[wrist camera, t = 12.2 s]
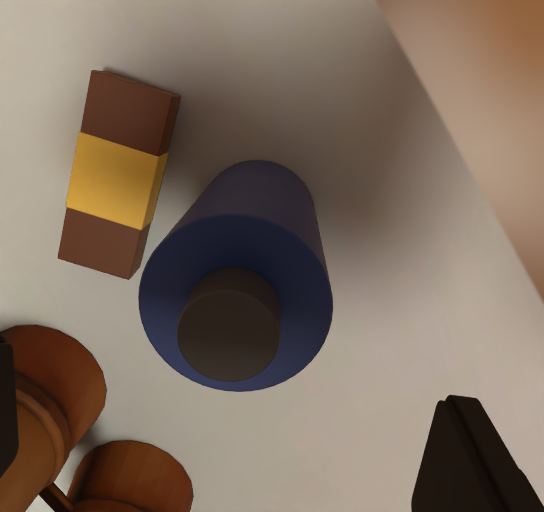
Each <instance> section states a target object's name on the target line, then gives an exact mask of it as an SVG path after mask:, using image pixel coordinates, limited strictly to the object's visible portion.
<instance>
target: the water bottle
mask: <svg viewBox="0 0 544 512" xmlns="http://www.w3.org/2000/svg"><path fill="white" fill-rule="evenodd" d="M138 297H139V311H140V316H141V321H142V324H143V327H144V330H145V332H146V334H147V336H148V338H149V340H150V342H151V344H152V345H153V347H154V348H155V350H156V351H157V352H158V354H159V355H160V356H161V357H162V358H163V360H164V361H166V362H167V363H168V364H169V365H170V366H171V367H172V368H173V369H175V370H176V371H177V372H179V373H180V374H181V375H183V376H185V377H187V378H188V379H190V380H192V381H194V382H196V383H199V384H201V385H204V386H207V387H210V388H214V389H219V390H224V391H235V392H243V391H254V390H261V389H265V388H268V387H272V386H275V385H277V384H279V383H282V382H284V381H286V380H288V379H289V378H291V377H293V376H295V375H296V374H297V373H299V372H300V371H301V370H303V369H304V368H305V367H306V366H307V365H308V364H309V363H310V362H311V361H312V360H313V358H314V357H315V356H316V355H317V353H318V352H319V351H320V349H321V347H322V345H323V344H324V342H325V340H326V337H327V335H328V332H329V329H330V325H331V321H332V313H333V296H332V291H331V286H330V281H329V276H328V271H327V266H326V261H325V256H324V252H323V247H322V242H321V237H320V232H319V227H318V222H317V218H316V213H315V208H314V203H313V200H312V197H311V195H310V193H309V191H308V189H307V187H306V186H305V184H304V183H303V182H302V181H301V179H300V178H299V177H298V176H297V175H295V174H294V173H293V172H292V171H290V170H289V169H287V168H286V167H284V166H281V165H279V164H276V163H273V162H269V161H264V160H251V161H245V162H240V163H238V164H235V165H233V166H231V167H229V168H227V169H225V170H224V171H223V172H221V173H220V174H219V175H218V176H217V177H216V178H215V179H214V180H213V181H212V182H211V184H210V185H209V186H208V187H207V188H206V190H205V191H204V192H203V193H202V194H201V196H200V197H199V198H198V199H197V200H196V201H195V203H194V204H193V205H192V206H191V207H190V209H189V210H188V211H187V212H186V213H185V215H184V216H183V217H182V218H181V219H180V220H179V222H178V223H177V224H176V225H175V226H174V228H173V229H172V230H171V231H170V232H169V234H168V235H167V236H166V237H165V238H164V239H163V241H162V242H161V243H160V244H159V245H158V247H157V248H156V249H155V250H154V252H153V253H152V255H151V257H150V258H149V260H148V262H147V264H146V266H145V268H144V271H143V273H142V277H141V281H140V286H139V296H138Z"/></svg>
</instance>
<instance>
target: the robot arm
mask: <svg viewBox="0 0 544 512" xmlns="http://www.w3.org/2000/svg"><path fill="white" fill-rule="evenodd" d="M18 449H19V433H18V418H17V402H16V386H15V370H14V354H13V347H12V345H11V344H8V343H7V342H6V340H5V338H4V337H3V336H0V478H1V477H2V476H3V474H4V473H5V472H6V470H7V469H8V468H9V467H10V465H11V464H12V463H13V461H14V460H15V458H16V455H17V453H18ZM411 509H412V512H544V506H543V504H542V503H541V501H540V499H539V498H538V496H537V494H536V493H535V491H534V489H533V488H532V486H531V484H530V482H529V481H528V479H527V477H526V476H525V474H524V473H523V472H522V471H521V470H520V469H519V468H518V467H517V465H516V463H515V461H514V460H513V458H512V456H511V455H510V453H509V451H508V449H507V448H506V446H505V444H504V443H503V441H502V439H501V437H500V436H499V434H498V432H497V430H496V429H495V427H494V425H493V424H492V422H491V420H490V418H489V417H488V415H487V413H486V412H485V410H484V408H483V406H482V405H481V403H480V401H479V400H478V399H476V398H471V397H464V396H456V395H449V396H448V397H447V398H446V400H445V401H442V400H440V401H439V402H438V403H437V406H436V409H435V413H434V417H433V420H432V424H431V428H430V432H429V435H428V439H427V443H426V447H425V450H424V454H423V458H422V462H421V465H420V469H419V473H418V477H417V480H416V484H415V488H414V492H413V495H412V503H411Z"/></svg>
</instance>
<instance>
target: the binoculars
mask: <svg viewBox="0 0 544 512" xmlns="http://www.w3.org/2000/svg"><path fill="white" fill-rule="evenodd" d="M0 336H3V337H4V338H5V340H6V342H7V343H8V344H11V345H12V347H13V354H14V370H15V386H16V402H17V418H18V433H19V449H18V453H17V455H16V458H15V460H14V461H13V463H12V464H11V465H10V467H9V468H8V469H7V470H6V472H5V473H4V474H3V476H2V477H1V478H0V512H25V511H26V510H27V508H28V507H29V506H30V505H31V503H32V502H33V501H34V499H35V498H36V497H37V495H38V494H39V496H40V497H41V498H42V499H43V500H44V501H45V502H46V503H47V504H48V505H49V506H50V507H51V508H52V509H53V510H54V512H190V509H191V505H192V501H193V490H192V485H191V480H190V479H189V477H188V475H187V473H186V472H185V470H184V468H183V467H182V466H181V465H180V464H179V463H178V462H177V461H176V460H175V459H174V458H173V457H172V456H170V455H169V454H168V453H166V452H164V451H162V450H160V449H158V448H156V447H154V446H152V445H149V444H144V443H140V442H136V441H113V442H110V443H107V444H104V445H101V446H98V447H96V448H95V449H94V450H92V451H91V452H90V453H88V454H87V455H86V456H84V458H83V460H82V461H81V463H80V465H79V466H78V468H77V470H76V473H75V475H74V478H73V480H72V483H71V486H70V488H69V491H68V493H67V496H65V494H64V493H63V492H62V491H61V490H60V489H59V488H58V487H57V486H56V485H55V484H54V481H55V479H56V478H57V476H58V474H59V473H60V471H61V469H62V468H63V466H64V464H65V462H66V461H67V459H68V457H69V454H70V452H71V450H72V449H73V448H74V447H75V446H76V444H77V443H78V442H79V441H80V439H81V438H82V437H83V436H84V435H85V433H86V432H87V431H88V430H89V429H90V427H91V426H92V425H93V424H94V423H95V421H96V420H97V418H98V417H99V415H100V413H101V411H102V410H103V408H104V405H105V398H106V385H105V381H104V377H103V372H102V371H101V369H100V367H99V365H98V364H97V362H96V360H95V359H94V357H93V355H92V354H91V353H89V352H88V351H87V350H86V349H85V348H84V347H83V346H82V345H81V344H80V343H79V342H78V341H77V340H75V339H73V338H71V337H69V336H67V335H66V334H64V333H62V332H60V331H58V330H55V329H50V328H46V327H42V326H38V325H29V326H15V327H13V328H10V329H7V330H5V331H2V332H0Z"/></svg>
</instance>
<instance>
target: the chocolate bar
mask: <svg viewBox="0 0 544 512" xmlns="http://www.w3.org/2000/svg"><path fill="white" fill-rule="evenodd" d="M180 99H181V96H179V95H176V94H173V93H170V92H167V91H164V90H161V89H158V88H155V87H152V86H149V85H146V84H143V83H140V82H137V81H134V80H131V79H128V78H125V77H122V76H119V75H116V74H113V73H110V72H106V71H96V70H92V71H91V76H90V82H89V88H88V93H87V99H86V104H85V110H84V115H83V121H82V126H81V132H79V135H78V140H77V146H76V151H75V157H74V162H73V168H72V173H71V179H70V185H69V190H68V196H67V201H66V207H67V209H66V215H65V220H64V226H63V231H62V237H61V242H60V248H59V253H58V259H61V260H65V261H68V262H71V263H74V264H78V265H81V266H84V267H88V268H91V269H94V270H98V271H101V272H104V273H108V274H111V275H114V276H117V277H121V278H124V279H127V280H129V279H130V278H131V277H132V276H133V275H134V273H135V272H136V271H137V270H138V269H139V267H140V264H141V260H142V256H143V252H144V247H145V243H146V239H147V235H148V231H149V227H150V223H151V221H152V219H153V215H154V211H155V207H156V203H157V199H158V194H159V190H160V186H161V182H162V178H163V174H164V170H165V166H166V162H167V157H168V149H169V144H170V140H171V136H172V132H173V128H174V124H175V120H176V116H177V111H178V107H179V103H180Z"/></svg>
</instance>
